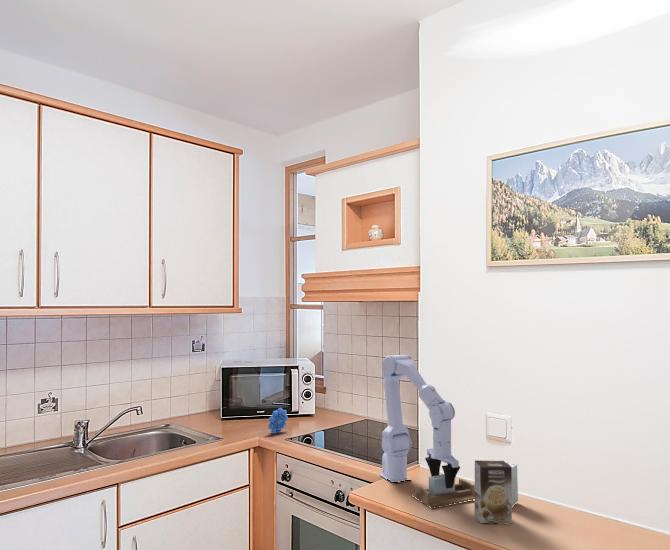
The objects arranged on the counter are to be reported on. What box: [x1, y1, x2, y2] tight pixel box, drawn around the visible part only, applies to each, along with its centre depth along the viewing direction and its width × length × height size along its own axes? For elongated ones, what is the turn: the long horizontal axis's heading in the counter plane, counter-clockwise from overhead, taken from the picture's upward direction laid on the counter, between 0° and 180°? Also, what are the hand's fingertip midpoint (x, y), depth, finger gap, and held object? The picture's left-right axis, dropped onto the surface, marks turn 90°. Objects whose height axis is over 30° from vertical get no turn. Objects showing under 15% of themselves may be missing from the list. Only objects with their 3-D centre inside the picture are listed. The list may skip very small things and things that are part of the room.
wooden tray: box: [411, 478, 475, 509], centre depth 164 cm, size 11×18×4 cm, turn 114°
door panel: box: [428, 474, 456, 496], centre depth 164 cm, size 3×8×6 cm, turn 114°
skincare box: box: [504, 461, 519, 506], centre depth 160 cm, size 6×4×12 cm
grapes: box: [267, 407, 289, 434], centre depth 247 cm, size 12×7×12 cm, turn 136°
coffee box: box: [473, 459, 513, 524], centre depth 148 cm, size 9×6×16 cm
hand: (442, 483), depth 164 cm, fingers open, 7 cm apart
